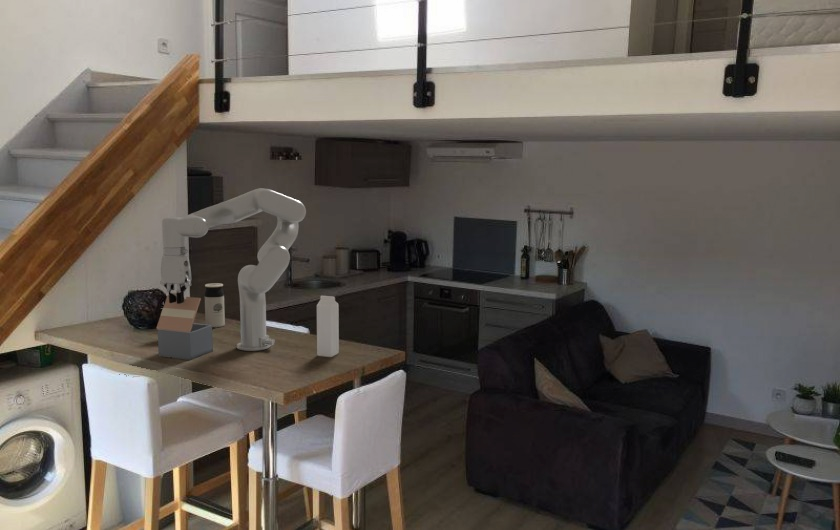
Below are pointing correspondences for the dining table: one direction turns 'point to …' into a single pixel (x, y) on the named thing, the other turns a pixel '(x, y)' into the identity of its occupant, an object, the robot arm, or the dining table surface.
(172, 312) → the lid
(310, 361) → the dining table surface
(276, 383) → the dining table surface
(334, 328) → the milk
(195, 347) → the carton
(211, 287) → the travel mug
